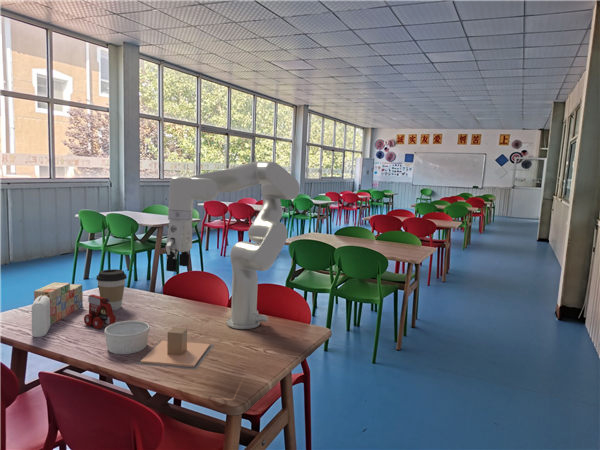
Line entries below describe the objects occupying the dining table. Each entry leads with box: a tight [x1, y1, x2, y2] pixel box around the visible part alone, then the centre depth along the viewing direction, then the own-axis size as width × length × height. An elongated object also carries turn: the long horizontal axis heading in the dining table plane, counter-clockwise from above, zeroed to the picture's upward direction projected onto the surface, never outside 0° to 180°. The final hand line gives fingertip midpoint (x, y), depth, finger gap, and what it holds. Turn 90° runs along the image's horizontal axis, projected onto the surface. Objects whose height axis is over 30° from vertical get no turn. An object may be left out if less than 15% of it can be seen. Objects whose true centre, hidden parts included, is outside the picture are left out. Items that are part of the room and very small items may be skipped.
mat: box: [135, 340, 215, 370], centre depth 132 cm, size 18×18×1 cm
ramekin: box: [103, 320, 151, 355], centre depth 135 cm, size 13×13×7 cm
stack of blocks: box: [33, 281, 84, 325], centre depth 162 cm, size 21×6×12 cm, turn 179°
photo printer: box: [31, 295, 51, 338], centre depth 144 cm, size 10×4×12 cm, turn 20°
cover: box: [141, 326, 211, 367], centre depth 131 cm, size 16×16×8 cm
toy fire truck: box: [83, 294, 117, 330], centre depth 154 cm, size 7×12×10 cm, turn 60°
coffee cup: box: [95, 268, 128, 311], centre depth 173 cm, size 11×11×15 cm
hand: (177, 268), depth 138 cm, fingers open, 9 cm apart
